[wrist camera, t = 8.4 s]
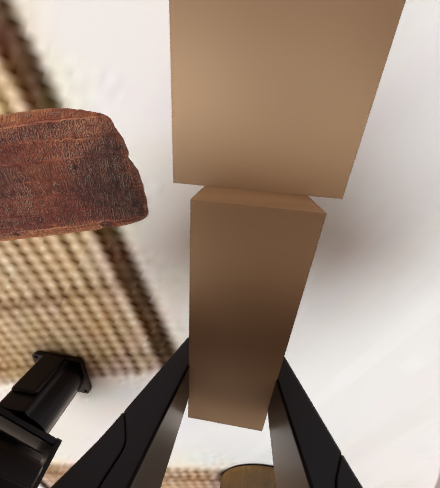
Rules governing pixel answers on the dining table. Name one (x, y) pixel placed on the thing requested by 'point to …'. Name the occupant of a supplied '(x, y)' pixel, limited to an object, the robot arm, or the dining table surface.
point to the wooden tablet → (65, 174)
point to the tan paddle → (263, 171)
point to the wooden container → (249, 477)
